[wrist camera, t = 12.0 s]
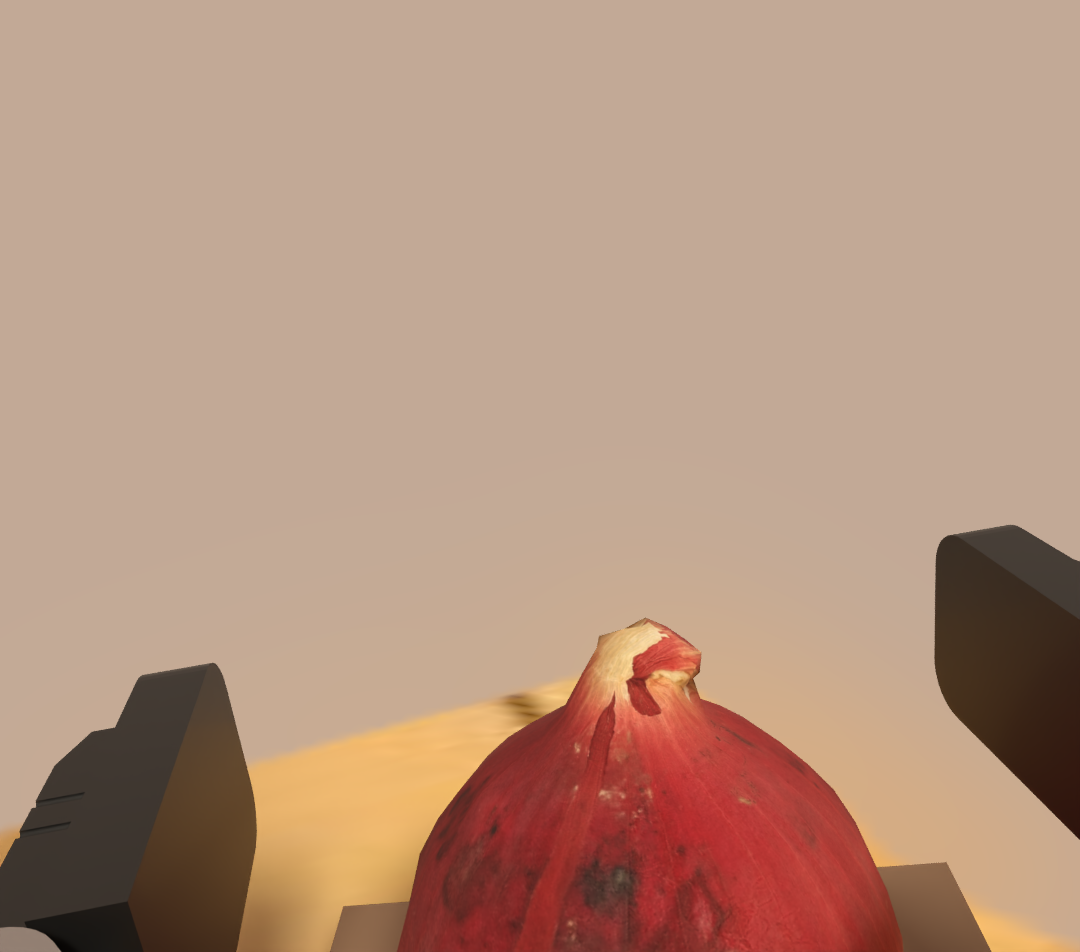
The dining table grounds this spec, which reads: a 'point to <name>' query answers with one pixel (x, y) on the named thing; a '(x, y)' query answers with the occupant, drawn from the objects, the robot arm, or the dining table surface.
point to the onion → (646, 830)
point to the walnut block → (914, 890)
